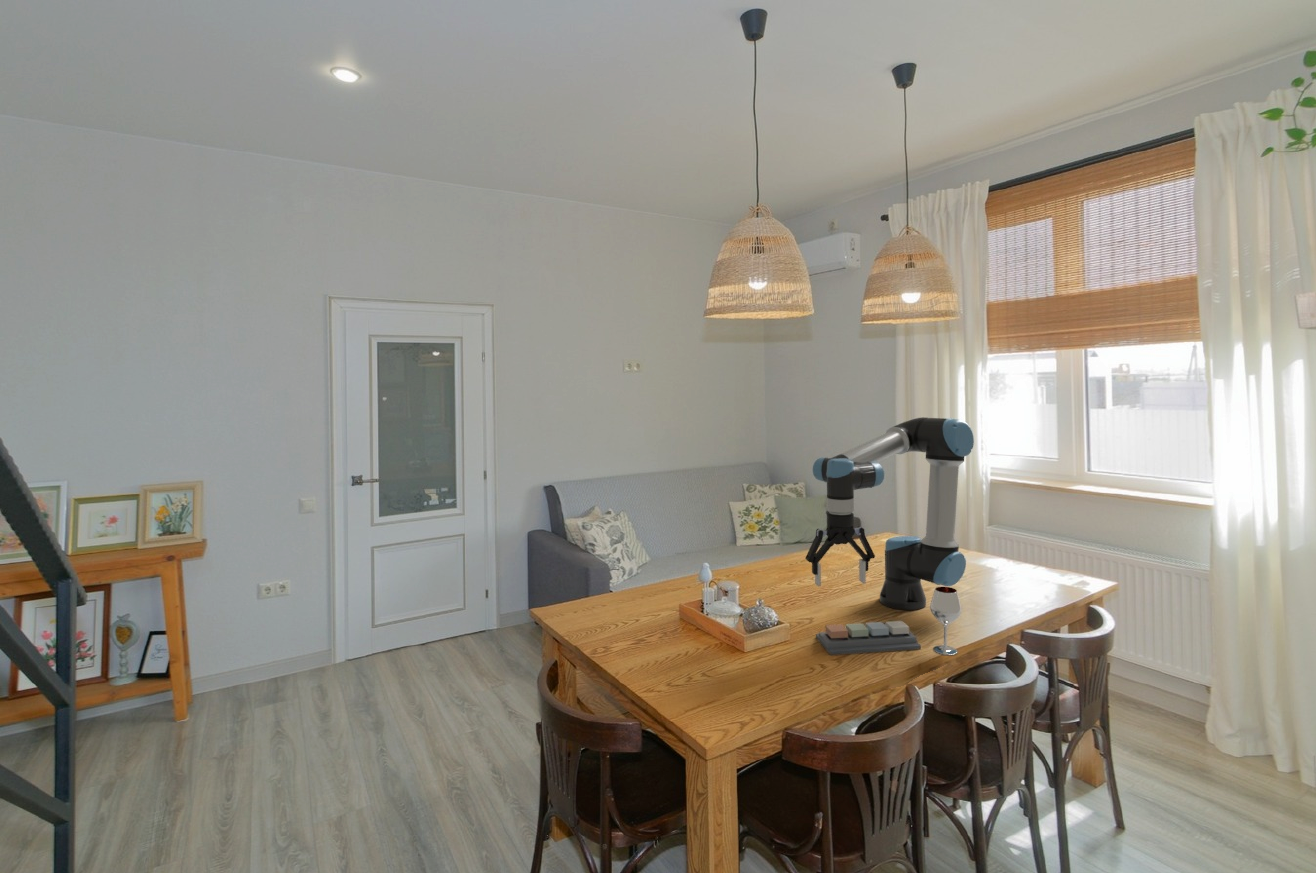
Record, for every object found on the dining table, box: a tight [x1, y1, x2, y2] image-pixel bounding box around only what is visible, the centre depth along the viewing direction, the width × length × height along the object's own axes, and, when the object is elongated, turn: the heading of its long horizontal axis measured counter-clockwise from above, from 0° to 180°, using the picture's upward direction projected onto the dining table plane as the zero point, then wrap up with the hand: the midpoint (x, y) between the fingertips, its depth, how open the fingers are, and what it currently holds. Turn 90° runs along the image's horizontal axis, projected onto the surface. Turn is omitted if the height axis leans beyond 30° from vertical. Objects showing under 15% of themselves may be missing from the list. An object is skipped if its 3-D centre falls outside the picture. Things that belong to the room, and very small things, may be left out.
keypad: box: [815, 630, 922, 656], centre depth 200 cm, size 27×13×2 cm, turn 95°
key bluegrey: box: [865, 621, 889, 636], centre depth 200 cm, size 5×5×2 cm
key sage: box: [845, 622, 868, 637], centre depth 200 cm, size 5×5×2 cm
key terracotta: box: [825, 624, 848, 638], centre depth 199 cm, size 5×5×2 cm
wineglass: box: [929, 586, 962, 656], centre depth 193 cm, size 8×8×18 cm
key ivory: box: [885, 620, 910, 634], centre depth 201 cm, size 5×5×2 cm
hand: (840, 583), depth 197 cm, fingers open, 13 cm apart
